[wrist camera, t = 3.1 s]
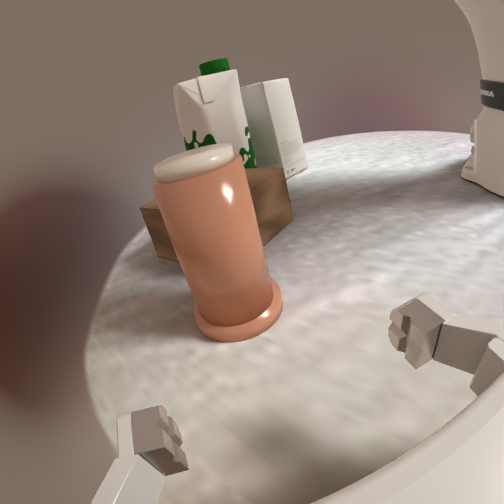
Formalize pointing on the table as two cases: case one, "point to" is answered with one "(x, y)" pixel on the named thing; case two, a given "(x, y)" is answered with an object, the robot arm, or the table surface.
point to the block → (264, 201)
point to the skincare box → (274, 126)
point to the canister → (217, 241)
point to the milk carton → (214, 111)
